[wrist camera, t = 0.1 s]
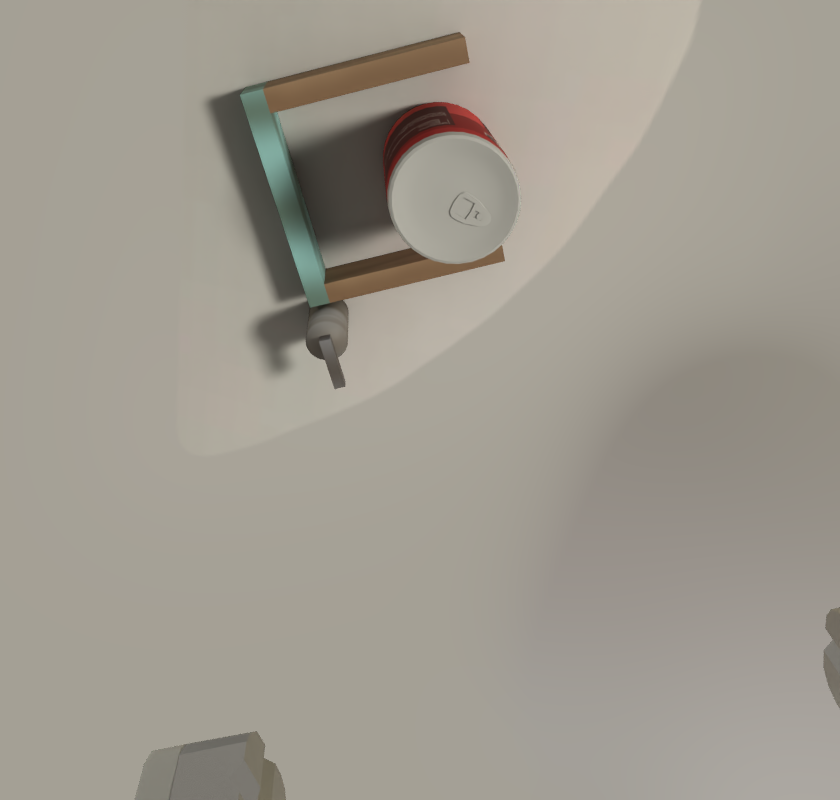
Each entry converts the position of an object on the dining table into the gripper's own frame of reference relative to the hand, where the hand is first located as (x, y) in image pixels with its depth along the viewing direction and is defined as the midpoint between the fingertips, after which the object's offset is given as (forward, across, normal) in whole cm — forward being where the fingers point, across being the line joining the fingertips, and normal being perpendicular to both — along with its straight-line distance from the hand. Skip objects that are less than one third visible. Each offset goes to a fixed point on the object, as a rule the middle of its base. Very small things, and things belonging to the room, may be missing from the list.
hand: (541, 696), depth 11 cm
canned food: (+48, -2, +4) cm, 48 cm away
